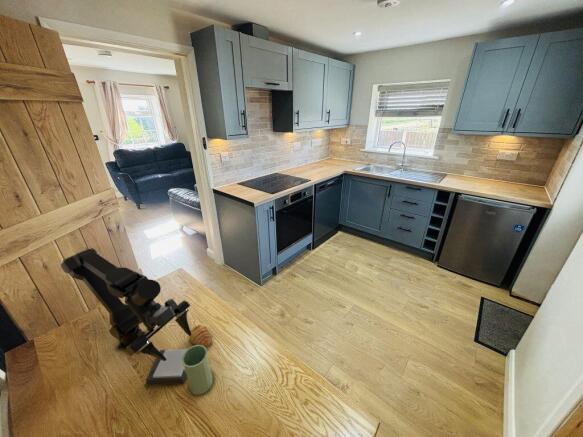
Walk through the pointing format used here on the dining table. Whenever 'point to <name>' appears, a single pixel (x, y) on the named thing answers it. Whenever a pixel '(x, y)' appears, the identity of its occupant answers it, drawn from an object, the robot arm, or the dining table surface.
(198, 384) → the cup
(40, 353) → the dining table surface
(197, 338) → the pastry
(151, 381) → the scale
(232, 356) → the dining table surface
